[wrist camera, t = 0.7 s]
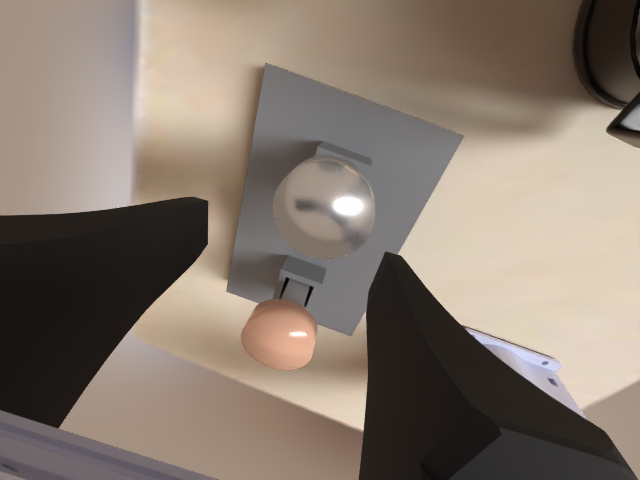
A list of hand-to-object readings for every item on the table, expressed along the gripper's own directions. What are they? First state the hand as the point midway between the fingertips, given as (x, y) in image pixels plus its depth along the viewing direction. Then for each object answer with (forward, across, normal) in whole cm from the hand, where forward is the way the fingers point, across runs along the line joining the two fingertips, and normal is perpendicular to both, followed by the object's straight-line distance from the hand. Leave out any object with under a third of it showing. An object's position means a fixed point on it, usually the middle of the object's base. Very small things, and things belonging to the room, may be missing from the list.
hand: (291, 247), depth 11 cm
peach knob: (+7, 0, +8) cm, 11 cm away
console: (+10, 0, +4) cm, 11 cm away
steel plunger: (+7, -1, -1) cm, 8 cm away
